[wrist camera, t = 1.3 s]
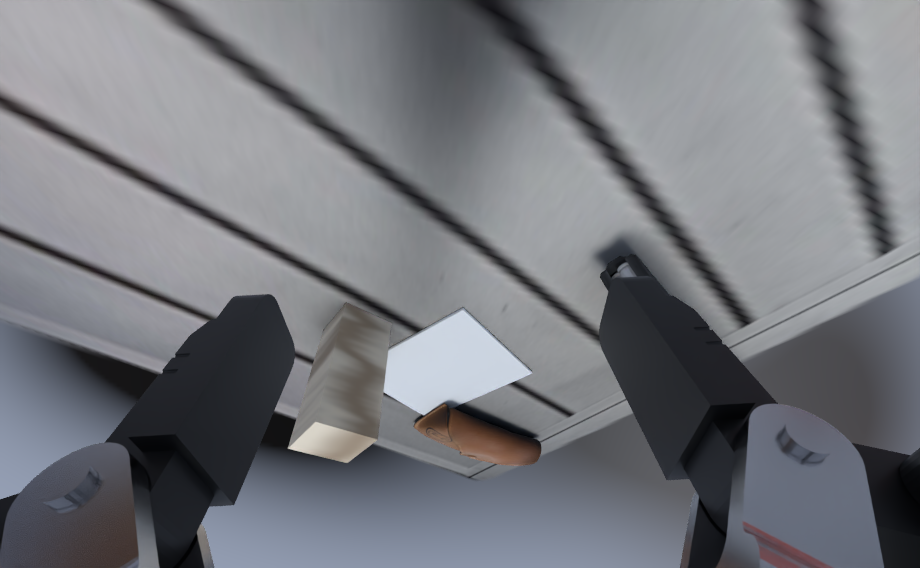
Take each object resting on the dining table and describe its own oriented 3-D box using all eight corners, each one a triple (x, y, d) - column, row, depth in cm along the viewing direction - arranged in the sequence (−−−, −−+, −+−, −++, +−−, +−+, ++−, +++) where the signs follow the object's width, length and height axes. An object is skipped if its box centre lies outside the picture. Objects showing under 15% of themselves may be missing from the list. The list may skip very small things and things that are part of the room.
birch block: (323, 330, 38) (287, 448, 29) (346, 302, 35) (315, 421, 26) (367, 348, 40) (347, 463, 31) (391, 322, 37) (377, 439, 28)
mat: (349, 369, 42) (349, 371, 42) (463, 307, 36) (463, 309, 36) (428, 416, 50) (428, 418, 50) (532, 371, 44) (532, 373, 44)
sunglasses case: (408, 429, 50) (423, 464, 44) (435, 386, 50) (454, 415, 44) (500, 458, 59) (523, 491, 53) (524, 422, 59) (549, 450, 53)
